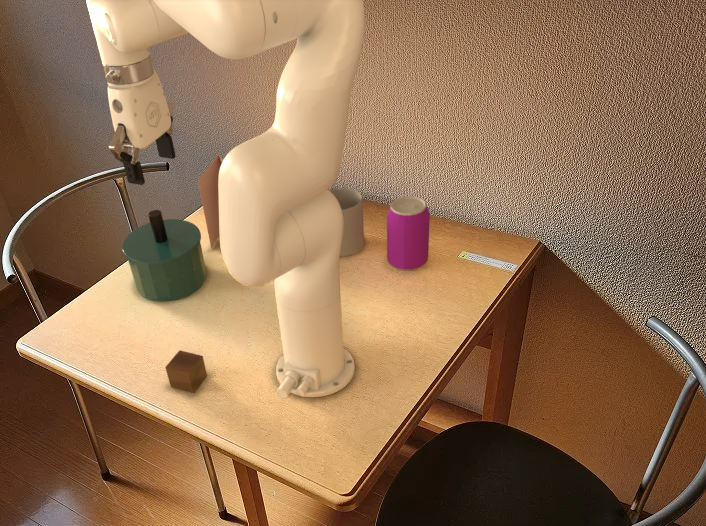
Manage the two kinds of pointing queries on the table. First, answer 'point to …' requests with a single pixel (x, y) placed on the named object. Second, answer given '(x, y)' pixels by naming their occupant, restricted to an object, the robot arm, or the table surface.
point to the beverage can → (408, 233)
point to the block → (186, 371)
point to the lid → (161, 240)
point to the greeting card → (211, 198)
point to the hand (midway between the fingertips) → (152, 170)
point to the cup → (351, 220)
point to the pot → (170, 277)
